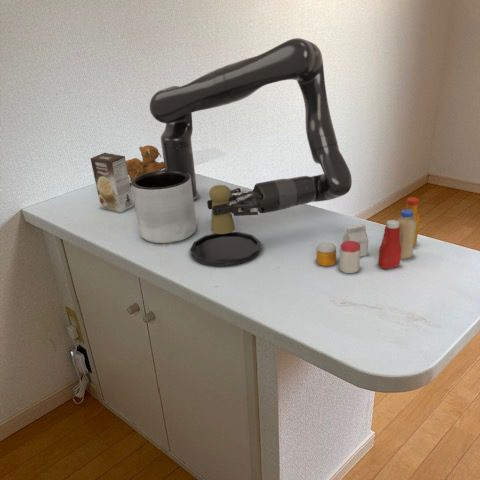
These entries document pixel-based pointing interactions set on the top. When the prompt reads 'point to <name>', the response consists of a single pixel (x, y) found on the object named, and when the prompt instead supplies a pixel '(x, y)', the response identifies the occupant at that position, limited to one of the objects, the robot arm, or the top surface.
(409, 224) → the toy food
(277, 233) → the top surface
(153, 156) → the stuffed squirrel
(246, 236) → the metal plate
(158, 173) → the planter
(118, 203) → the coffee box
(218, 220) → the cork
